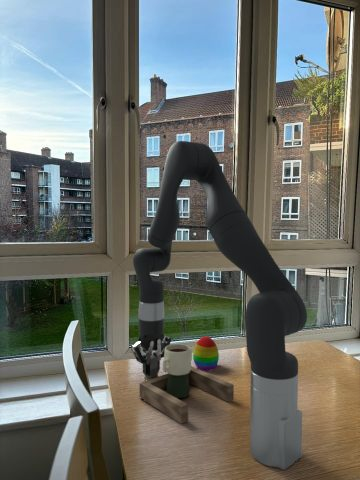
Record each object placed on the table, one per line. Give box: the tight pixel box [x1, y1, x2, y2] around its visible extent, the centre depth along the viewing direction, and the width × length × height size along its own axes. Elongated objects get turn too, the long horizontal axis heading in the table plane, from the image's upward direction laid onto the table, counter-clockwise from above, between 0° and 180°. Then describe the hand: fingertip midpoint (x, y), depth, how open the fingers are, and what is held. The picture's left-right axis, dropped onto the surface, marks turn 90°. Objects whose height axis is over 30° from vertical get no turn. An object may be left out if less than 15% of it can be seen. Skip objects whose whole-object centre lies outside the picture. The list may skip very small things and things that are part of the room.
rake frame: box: [139, 354, 235, 425], centre depth 104 cm, size 26×18×7 cm
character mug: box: [162, 343, 193, 399], centre depth 103 cm, size 11×7×13 cm, turn 136°
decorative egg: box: [192, 335, 220, 372], centre depth 122 cm, size 8×8×10 cm
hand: (151, 373), depth 113 cm, fingers closed on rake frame, 2 cm apart
